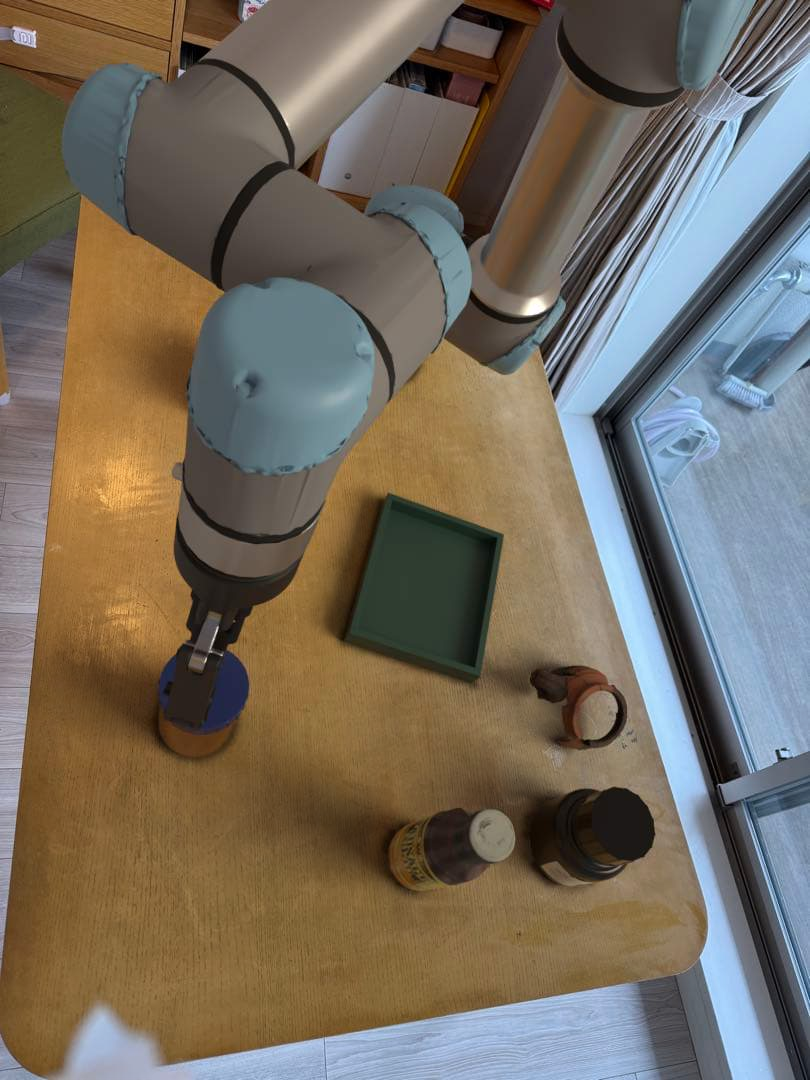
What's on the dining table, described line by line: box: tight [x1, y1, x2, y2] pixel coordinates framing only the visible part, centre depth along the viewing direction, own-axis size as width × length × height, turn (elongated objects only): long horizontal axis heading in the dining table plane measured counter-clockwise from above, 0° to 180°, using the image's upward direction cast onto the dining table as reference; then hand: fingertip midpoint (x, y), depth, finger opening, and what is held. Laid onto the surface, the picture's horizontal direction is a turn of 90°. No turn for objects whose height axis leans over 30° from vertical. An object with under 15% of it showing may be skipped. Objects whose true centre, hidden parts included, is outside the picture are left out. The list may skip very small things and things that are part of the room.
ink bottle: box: [528, 786, 656, 888], centre depth 78 cm, size 10×9×12 cm
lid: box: [156, 649, 250, 735], centre depth 69 cm, size 8×8×2 cm
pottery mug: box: [528, 664, 628, 751], centre depth 88 cm, size 12×10×8 cm
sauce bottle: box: [386, 807, 516, 892], centre depth 69 cm, size 6×6×20 cm
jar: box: [157, 707, 236, 758], centre depth 73 cm, size 7×7×11 cm
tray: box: [343, 492, 505, 684], centre depth 92 cm, size 20×16×3 cm
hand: (209, 661), depth 63 cm, fingers open, 8 cm apart
